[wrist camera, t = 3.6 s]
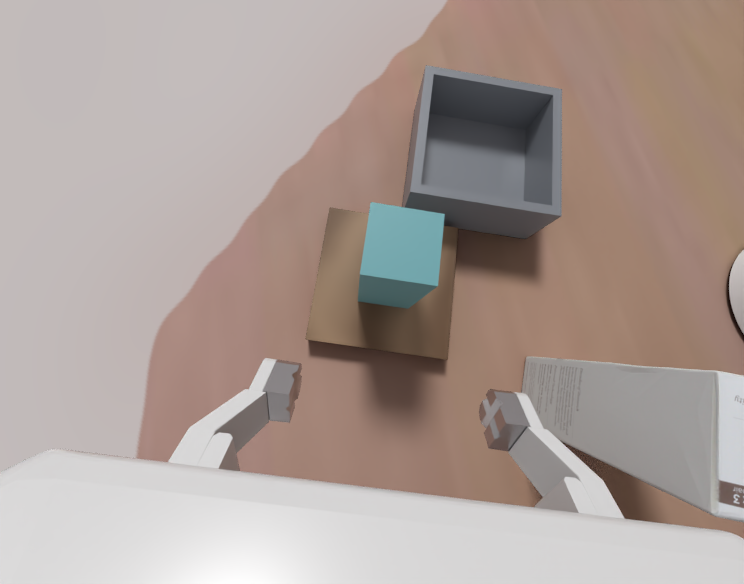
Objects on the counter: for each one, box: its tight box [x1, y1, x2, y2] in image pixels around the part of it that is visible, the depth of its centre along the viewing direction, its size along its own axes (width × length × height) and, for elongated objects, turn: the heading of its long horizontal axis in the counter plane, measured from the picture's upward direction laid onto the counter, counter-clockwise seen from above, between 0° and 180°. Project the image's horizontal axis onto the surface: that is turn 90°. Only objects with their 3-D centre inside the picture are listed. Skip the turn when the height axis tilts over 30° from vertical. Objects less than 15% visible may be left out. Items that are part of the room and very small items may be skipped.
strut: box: [358, 202, 445, 309], centre depth 21 cm, size 4×4×9 cm
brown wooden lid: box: [306, 208, 458, 360], centre depth 24 cm, size 12×12×5 cm
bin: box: [402, 65, 562, 239], centre depth 27 cm, size 13×13×5 cm
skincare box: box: [521, 357, 744, 522], centre depth 18 cm, size 8×6×15 cm
